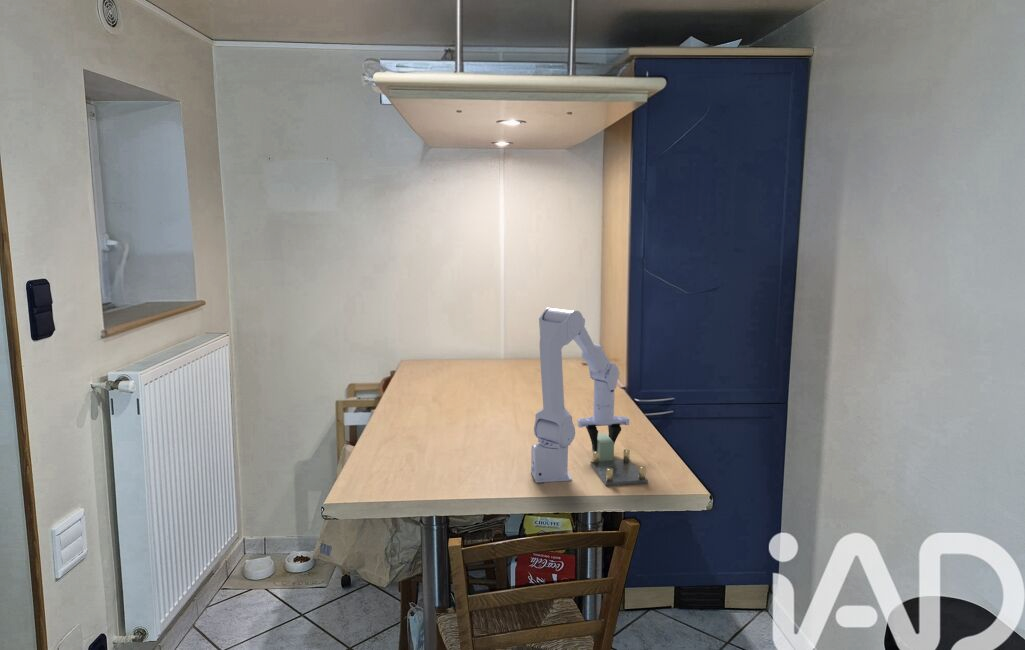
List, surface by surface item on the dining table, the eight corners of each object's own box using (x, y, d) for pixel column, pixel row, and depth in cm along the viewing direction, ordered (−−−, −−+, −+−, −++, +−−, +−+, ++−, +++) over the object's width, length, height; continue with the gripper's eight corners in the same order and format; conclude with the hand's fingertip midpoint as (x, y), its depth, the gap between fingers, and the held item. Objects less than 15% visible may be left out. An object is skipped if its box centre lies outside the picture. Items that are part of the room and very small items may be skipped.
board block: (599, 460, 194) (600, 443, 193) (592, 450, 201) (592, 433, 200) (613, 459, 194) (614, 442, 193) (605, 449, 202) (605, 433, 201)
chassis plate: (605, 486, 176) (606, 471, 175) (590, 465, 190) (590, 451, 189) (647, 483, 177) (648, 468, 177) (629, 462, 192) (629, 449, 191)
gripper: (624, 398, 200) (622, 444, 203) (575, 400, 198) (574, 446, 200) (632, 405, 193) (630, 452, 196) (581, 407, 191) (580, 455, 193)
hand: (602, 450), depth 198 cm, fingers closed on board block, 4 cm apart
